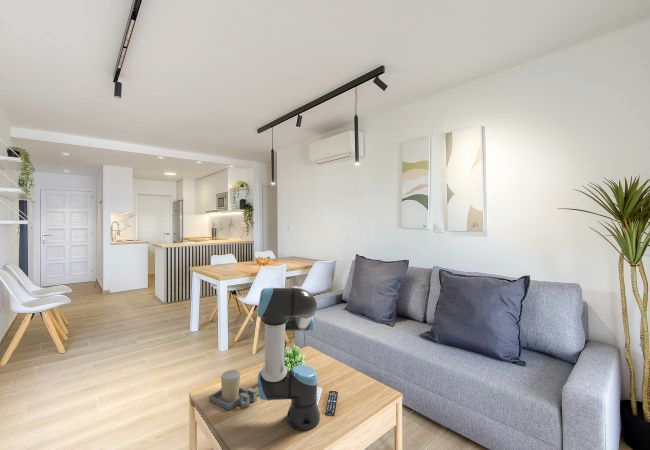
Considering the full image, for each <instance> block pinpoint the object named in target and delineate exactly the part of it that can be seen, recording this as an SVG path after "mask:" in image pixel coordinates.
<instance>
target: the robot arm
mask: <svg viewBox="0 0 650 450" xmlns="http://www.w3.org/2000/svg"><path fill="white" fill-rule="evenodd" d="M317 309H318V302H317V299H316V298H315V297H314V295H313V294H312V293H311V292H309V291H308V290H306V289H303V288H300V287H266V288H262V290H261V291H260V295H259V301H258V307H257V314H256V315H257V317H258V318H260V320H261V321H260V322H261V323H262V324H264V366H263V367H262V368H261V371H259V372H258V375H257V386H258V397H259V399H260V400H261V401H279V400H283V401H284V400H290V404H289V408H288V411H287V414H286V415H287V416H286V423H287V424H288V425H289V427H290V428H292V429H294V430H297V431H309V430H311V429H314V428H315V427H317V426H318V425H319V423H320V420H321V413H320V410H319V406H318V402H317V400H318V397H317V396H318V373H317V371H316V370H315V369H314V368H312V367H311V366H309V365H305V364H297V365H295V366H293V367H292V369H291V370H288V368H287V366H286V365H285V354H284V350H285V351H286V347H287V342H286V332H295V331H296V332H302V331H303V332H308V331H313V330H314V315H315V314H316V313H317V312H316V311H317Z"/></svg>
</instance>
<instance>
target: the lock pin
mask: <svg viewBox="0 0 650 450" xmlns="http://www.w3.org/2000/svg"><path fill="white" fill-rule="evenodd" d="M253 389H254V390H257V396H259V394H258V385H257V386H256V387H255V388H253ZM249 395H250V398H253V393H251V392H249Z"/></svg>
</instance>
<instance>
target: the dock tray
mask: <svg viewBox="0 0 650 450" xmlns="http://www.w3.org/2000/svg"><path fill="white" fill-rule="evenodd" d="M249 392H251V393H253V398H250V395H249ZM208 401H209V402H210V403H212V404H214V405H215V406H218V407H220V408H222V409H225V411H232V410H233V409H234V408H236V407H237V406H238V405H239V406H241V407H243V408H246V409H248V408H249V407H250V405H251V403H256V402H257V401H258V395H257V390H254V388H251V387H248V389H245V388H243V387H240V386H239V394H238V398H237V399H236V400H235V401H233V402H224V401H223V400H222V388H221V389H219V390H217V391H215V392H214V393H213V394H210V395H209V397H208ZM250 402H251V403H250Z"/></svg>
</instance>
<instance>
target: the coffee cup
mask: <svg viewBox="0 0 650 450" xmlns="http://www.w3.org/2000/svg"><path fill="white" fill-rule="evenodd" d="M220 379H221V380H220V381H221V389H222V400H223V401H224V402H233V401H235V400H236V399H237V398H238V394H239V387H240V383H241V382H240V381H241V373H240V371H239V370H235V369H234V370H233V369H230V370H226V371H224V372H223V373H222V374H221V376H220Z"/></svg>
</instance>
